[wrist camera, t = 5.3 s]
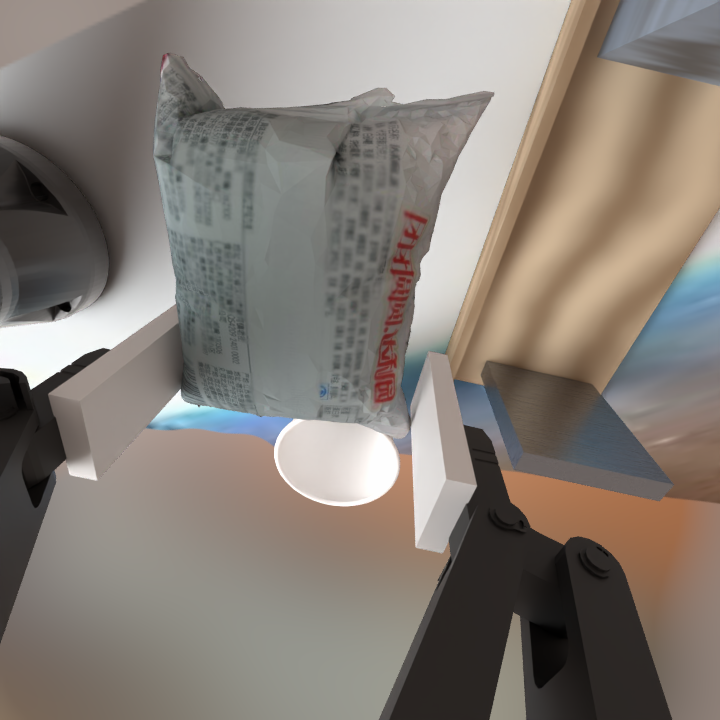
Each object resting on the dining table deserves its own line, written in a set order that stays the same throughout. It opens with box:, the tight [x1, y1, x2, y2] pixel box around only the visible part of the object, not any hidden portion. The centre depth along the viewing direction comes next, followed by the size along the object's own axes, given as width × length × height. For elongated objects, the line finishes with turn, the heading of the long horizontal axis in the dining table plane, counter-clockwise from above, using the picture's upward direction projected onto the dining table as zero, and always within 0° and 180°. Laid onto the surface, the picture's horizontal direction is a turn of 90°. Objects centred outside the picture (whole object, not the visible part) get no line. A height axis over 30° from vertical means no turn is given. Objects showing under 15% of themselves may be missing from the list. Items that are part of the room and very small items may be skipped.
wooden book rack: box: [445, 0, 720, 394], centre depth 24 cm, size 15×32×13 cm, turn 169°
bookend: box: [481, 361, 674, 501], centre depth 30 cm, size 10×2×12 cm, turn 79°
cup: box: [274, 419, 400, 506], centre depth 34 cm, size 10×10×11 cm
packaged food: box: [153, 53, 494, 439], centre depth 12 cm, size 9×12×5 cm
